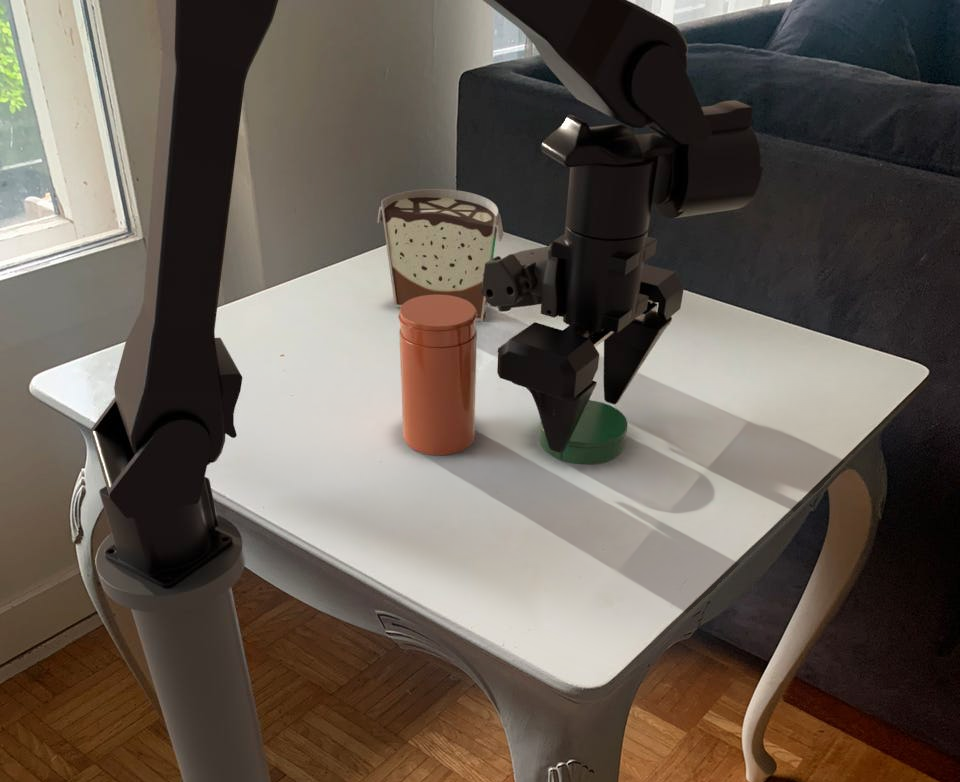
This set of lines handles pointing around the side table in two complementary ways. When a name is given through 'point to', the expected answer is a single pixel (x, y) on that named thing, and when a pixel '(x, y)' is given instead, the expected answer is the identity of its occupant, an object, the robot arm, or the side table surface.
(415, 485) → the side table surface
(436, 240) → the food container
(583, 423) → the green cylinder
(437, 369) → the jar
